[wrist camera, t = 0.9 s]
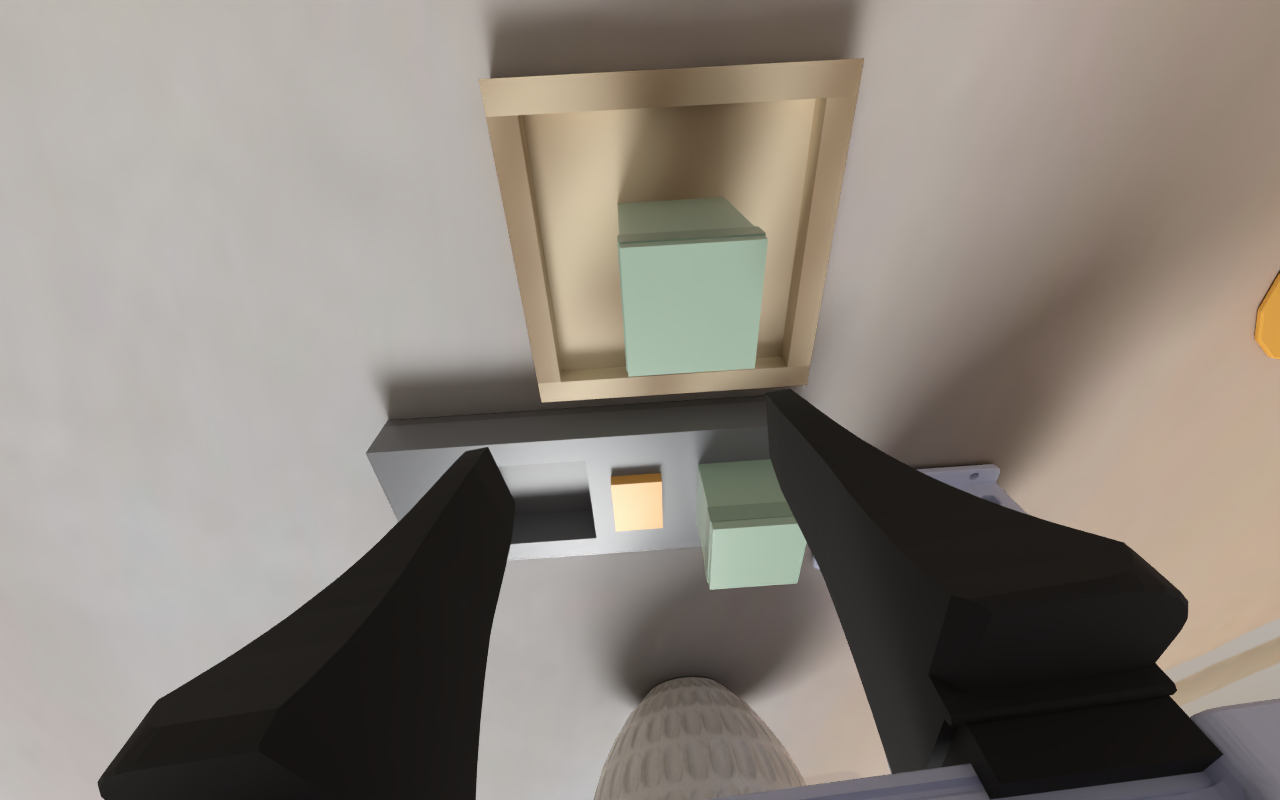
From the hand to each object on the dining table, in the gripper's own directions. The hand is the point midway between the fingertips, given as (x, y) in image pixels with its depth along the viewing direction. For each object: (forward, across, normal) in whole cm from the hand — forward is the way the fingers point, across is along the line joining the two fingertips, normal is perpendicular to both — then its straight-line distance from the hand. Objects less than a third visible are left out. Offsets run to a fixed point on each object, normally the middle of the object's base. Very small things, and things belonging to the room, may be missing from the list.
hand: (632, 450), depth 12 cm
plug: (+9, -2, -2) cm, 10 cm away
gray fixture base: (+10, +3, +9) cm, 14 cm away
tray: (+10, -2, -2) cm, 10 cm away
